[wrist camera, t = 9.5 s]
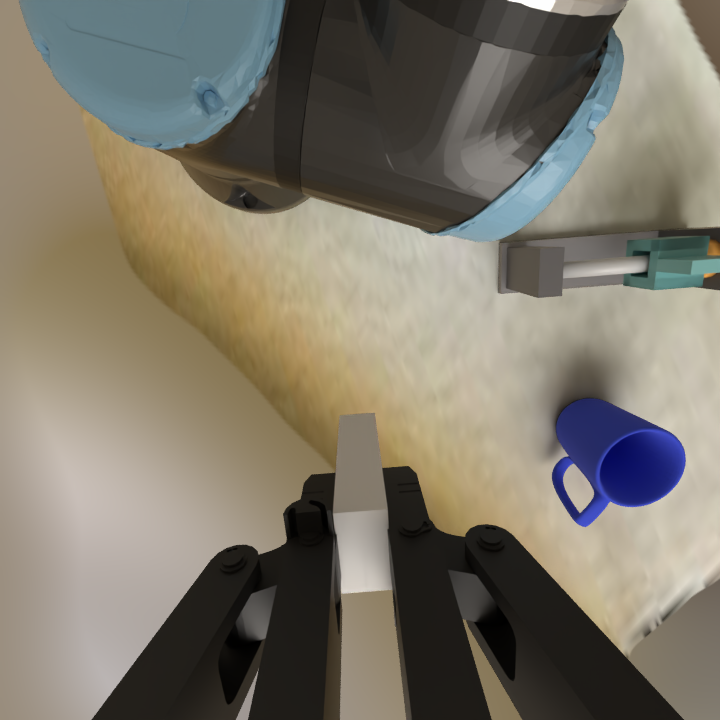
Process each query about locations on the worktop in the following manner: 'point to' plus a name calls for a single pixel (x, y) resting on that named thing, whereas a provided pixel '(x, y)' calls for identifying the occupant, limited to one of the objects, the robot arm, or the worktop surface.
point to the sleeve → (672, 262)
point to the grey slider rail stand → (584, 261)
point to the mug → (615, 457)
